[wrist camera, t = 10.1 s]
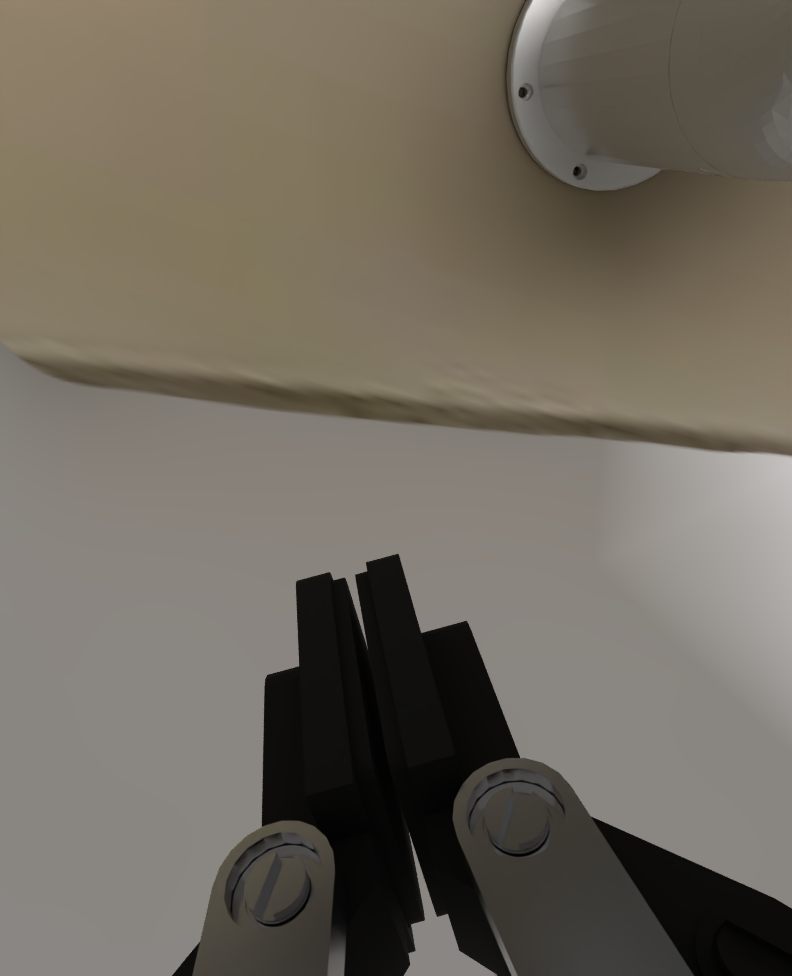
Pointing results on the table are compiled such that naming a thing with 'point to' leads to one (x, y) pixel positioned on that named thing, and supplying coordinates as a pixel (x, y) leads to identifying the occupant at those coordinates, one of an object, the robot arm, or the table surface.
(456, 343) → the table surface
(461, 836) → the robot arm
